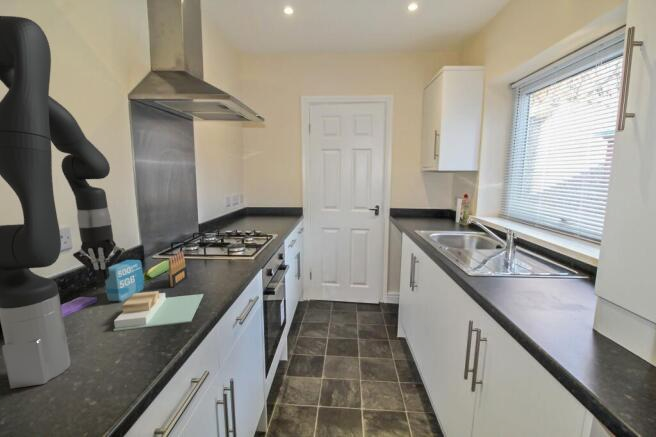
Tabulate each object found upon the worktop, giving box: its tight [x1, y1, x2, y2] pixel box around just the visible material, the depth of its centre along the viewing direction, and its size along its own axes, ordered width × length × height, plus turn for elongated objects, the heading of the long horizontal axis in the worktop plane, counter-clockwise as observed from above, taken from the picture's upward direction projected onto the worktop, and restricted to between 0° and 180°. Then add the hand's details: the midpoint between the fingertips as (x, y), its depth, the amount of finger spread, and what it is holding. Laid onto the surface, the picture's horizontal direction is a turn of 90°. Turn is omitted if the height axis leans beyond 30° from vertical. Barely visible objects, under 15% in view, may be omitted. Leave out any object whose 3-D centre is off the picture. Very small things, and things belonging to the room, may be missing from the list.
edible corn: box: [143, 259, 169, 283], centre depth 129 cm, size 5×20×5 cm, turn 0°
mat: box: [113, 293, 204, 332], centre depth 94 cm, size 20×20×1 cm
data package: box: [104, 259, 145, 302], centre depth 106 cm, size 12×4×12 cm, turn 174°
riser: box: [113, 292, 167, 329], centre depth 93 cm, size 18×8×2 cm, turn 13°
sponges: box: [61, 296, 98, 318], centre depth 97 cm, size 7×13×2 cm, turn 169°
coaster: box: [121, 290, 160, 313], centre depth 93 cm, size 9×7×2 cm
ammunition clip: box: [168, 250, 189, 289], centre depth 118 cm, size 11×2×12 cm, turn 179°
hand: (103, 280), depth 90 cm, fingers closed
